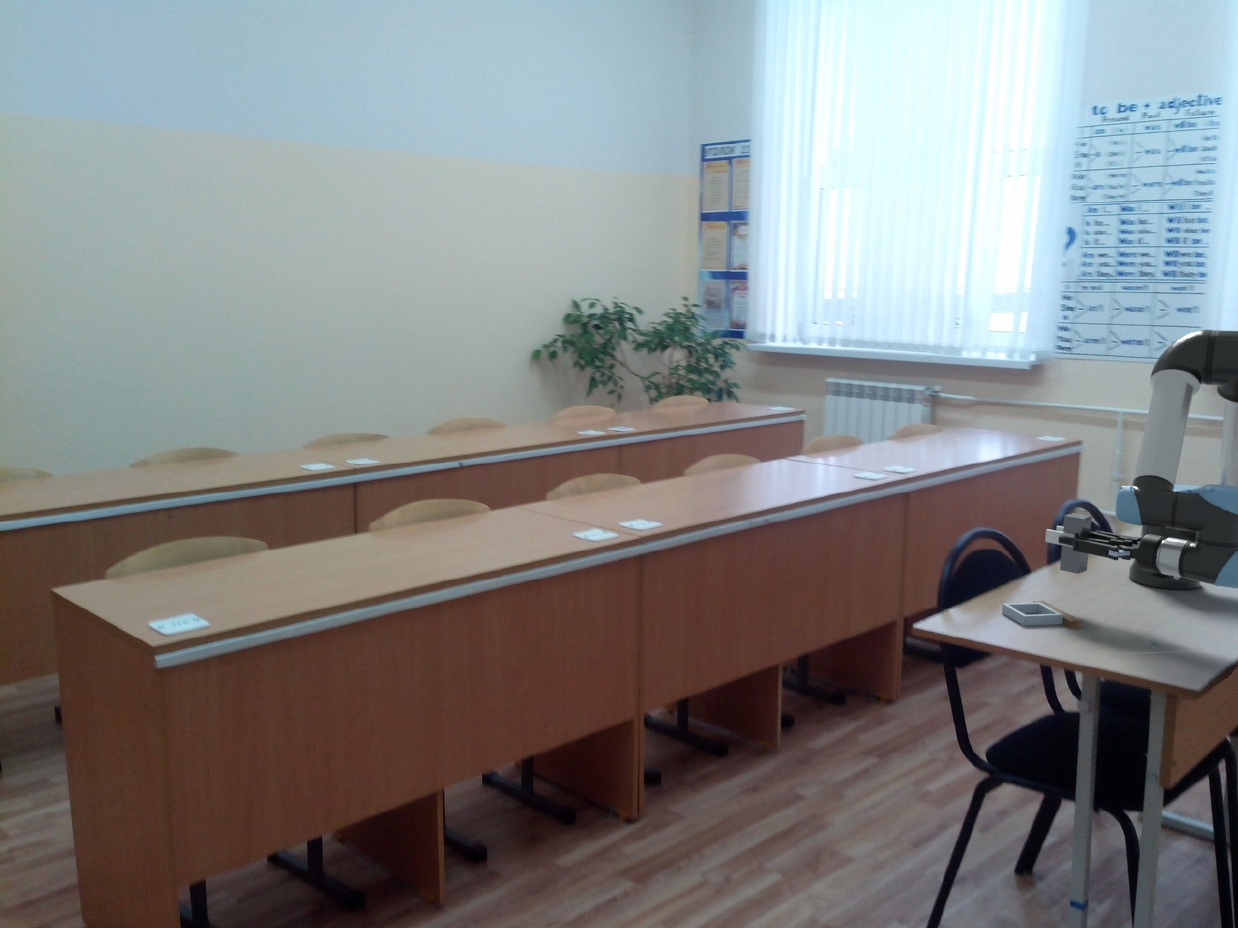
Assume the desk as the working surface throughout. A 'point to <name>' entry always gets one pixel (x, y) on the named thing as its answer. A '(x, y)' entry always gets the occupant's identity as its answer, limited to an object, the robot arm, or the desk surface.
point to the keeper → (1043, 618)
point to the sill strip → (1064, 616)
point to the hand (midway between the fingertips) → (1052, 533)
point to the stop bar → (1070, 558)
